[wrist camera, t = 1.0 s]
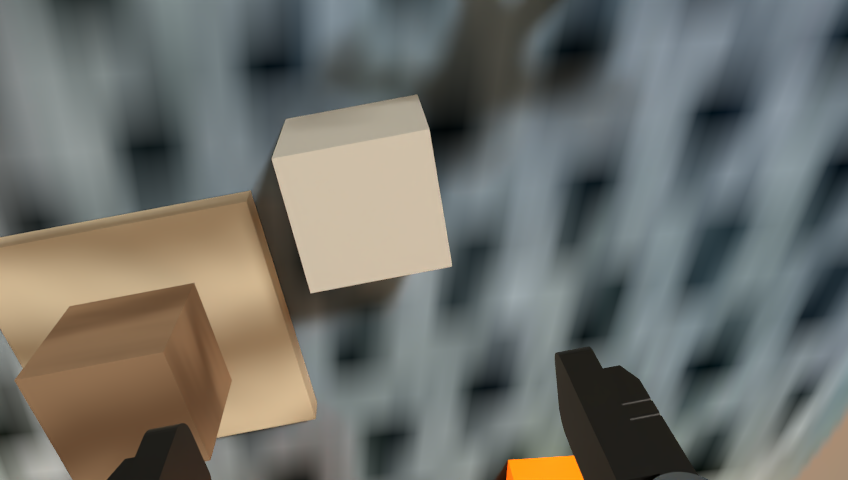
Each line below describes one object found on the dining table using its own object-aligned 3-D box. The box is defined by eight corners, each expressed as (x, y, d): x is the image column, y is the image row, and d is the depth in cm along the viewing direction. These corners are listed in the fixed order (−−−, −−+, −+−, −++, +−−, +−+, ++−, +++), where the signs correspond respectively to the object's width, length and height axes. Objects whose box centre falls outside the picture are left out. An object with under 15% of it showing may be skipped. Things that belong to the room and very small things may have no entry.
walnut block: (69, 306, 28) (14, 380, 23) (194, 282, 28) (163, 352, 23) (117, 402, 30) (76, 485, 26) (231, 380, 30) (210, 460, 26)
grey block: (286, 118, 26) (271, 158, 22) (417, 93, 26) (429, 128, 22) (317, 235, 29) (310, 293, 24) (437, 213, 29) (452, 266, 24)
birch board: (-26, 242, 27) (-42, 255, 26) (250, 190, 27) (246, 201, 26) (87, 446, 33) (77, 464, 32) (316, 402, 33) (315, 418, 32)
